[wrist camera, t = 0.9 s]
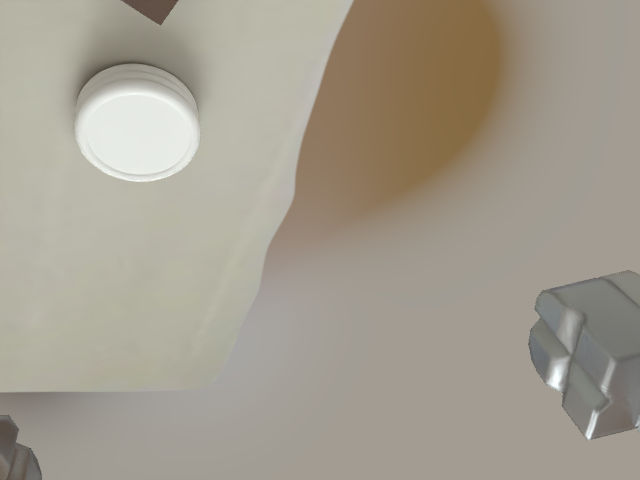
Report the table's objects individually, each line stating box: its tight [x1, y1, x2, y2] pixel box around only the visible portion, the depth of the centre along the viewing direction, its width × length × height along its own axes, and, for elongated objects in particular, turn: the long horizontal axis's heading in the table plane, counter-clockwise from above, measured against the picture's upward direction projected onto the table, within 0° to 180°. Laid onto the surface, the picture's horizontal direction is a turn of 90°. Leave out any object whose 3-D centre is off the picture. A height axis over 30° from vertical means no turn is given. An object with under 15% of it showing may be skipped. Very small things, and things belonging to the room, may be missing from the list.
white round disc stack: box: [74, 64, 201, 182], centre depth 47 cm, size 10×10×4 cm
